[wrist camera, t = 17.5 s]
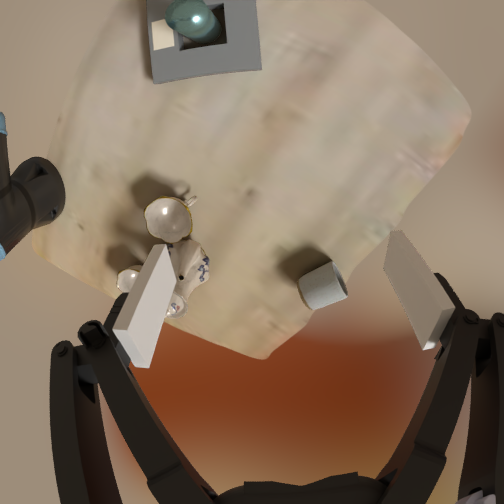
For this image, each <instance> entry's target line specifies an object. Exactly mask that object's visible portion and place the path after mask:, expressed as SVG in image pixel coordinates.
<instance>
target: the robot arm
mask: <svg viewBox="0 0 504 504" xmlns="http://www.w3.org/2000/svg"><path fill="white" fill-rule="evenodd" d="M6 136H7V132H6V125H5V117H4V114H3V113H2V112H0V261H1V260H2V259H4V258H5V256H6V255H7V254H8V253H9V252H10V251H11V250H12V249H13V248H14V247H15V245H17V244H18V242H20V241H21V240H22V239H23V238H24V237H25V236H26V235H27V234H28V233H29V232H30V231H31V230H32V229H35V228H38V227H41V226H44V225H47V224H50V223H51V222H53V221H54V220H55V219H56V218H57V217H58V216H59V215H60V214H61V213H62V211H63V208H64V205H65V188H64V184H63V181H62V178H61V176H60V174H59V172H58V171H57V169H56V168H55V167H54V166H53V164H52V163H50V162H49V161H48V160H46V159H44V158H42V157H32V158H30V159H28V160H26V161H24V162H23V163H21V164H20V165H19V166H18V168H17V169H16V170H15V171H14V173H13V174H12V175H11V176H10V169H9V161H8V152H7V138H6ZM383 269H384V271H385V273H386V274H387V276H388V278H389V280H390V282H391V284H392V286H393V288H394V290H395V292H396V294H397V296H398V298H399V300H400V302H401V304H402V306H403V308H404V310H405V312H406V314H407V316H408V319H409V321H410V323H411V325H412V327H413V329H414V332H415V333H416V336H417V338H418V341H419V343H420V345H421V347H422V350H426V349H430V348H435V346H436V345H437V343H438V341H439V339H440V342H441V344H442V346H441V348H440V350H439V352H438V354H437V355H436V357H435V358H434V359H436V362H435V365H434V368H433V370H432V373H431V376H430V378H429V381H428V383H427V386H426V388H425V390H424V393H423V395H422V397H421V400H420V402H419V404H418V406H417V409H416V411H415V413H414V415H413V417H412V419H411V421H410V424H409V425H408V427H407V429H406V431H405V433H404V435H403V437H402V439H401V441H400V443H399V444H398V446H397V448H396V450H395V452H394V453H393V455H392V457H391V458H390V460H389V462H388V463H387V464H386V466H385V467H384V468H383V469H382V470H381V472H380V473H379V475H378V476H377V477H376V479H373V478H369V477H364V476H358V472H353V473H347V474H342V475H336V476H330V477H327V478H324V479H322V480H319V481H316V482H314V483H310V484H307V485H304V486H298V485H291V484H285V483H279V482H273V481H265V482H244V485H243V486H239V487H235V488H232V489H230V490H228V491H226V492H224V493H222V494H220V495H219V496H218V495H217V494H216V492H215V491H214V490H213V489H212V488H211V487H210V486H209V484H208V483H207V482H206V481H205V480H204V479H203V478H202V477H201V476H200V475H199V473H198V472H197V471H196V470H195V468H194V467H193V466H192V465H191V463H190V462H189V461H188V459H187V458H186V457H185V455H184V454H183V453H182V451H181V450H180V448H179V447H178V446H177V444H176V443H175V441H174V440H173V438H172V437H171V436H170V434H169V433H168V431H167V430H166V428H165V427H164V425H163V424H162V422H161V421H160V419H159V417H158V416H157V414H156V413H155V411H154V409H153V408H152V406H151V405H150V403H149V401H148V400H147V398H146V396H145V395H144V393H143V391H142V389H141V388H140V386H139V384H138V382H137V380H136V379H135V377H134V375H133V373H132V371H131V370H130V368H129V367H128V366H129V363H130V360H131V361H132V363H133V364H134V366H135V367H144V368H149V366H150V363H151V359H152V356H153V353H154V349H155V346H156V342H157V340H158V336H159V333H160V330H161V326H162V324H163V320H164V317H165V314H166V311H167V308H168V305H169V302H170V299H171V296H172V293H173V290H174V287H175V284H176V281H177V280H176V277H175V274H174V270H173V267H172V263H171V260H170V256H169V253H168V249H167V246H166V244H158V245H154V246H153V248H152V250H151V252H150V253H149V255H148V257H147V259H146V261H145V263H144V265H143V267H142V269H141V271H140V272H139V274H138V276H137V278H136V280H135V282H134V284H133V286H132V288H131V290H130V292H123V293H122V294H121V295H120V296H119V297H118V298H117V299H116V301H115V303H114V305H113V308H111V311H110V313H109V315H108V317H107V319H106V321H105V323H104V325H102V324H101V322H99V321H97V320H91V321H89V322H86V323H85V324H83V325H82V326H81V327H80V329H79V331H78V338H79V340H80V341H81V342H82V344H83V345H80V346H76V347H74V346H73V345H72V343H71V342H70V341H67V340H65V341H61V342H59V343H58V344H56V345H55V346H54V348H53V349H52V353H51V366H50V367H51V368H50V427H51V440H52V452H53V460H54V468H55V475H56V481H57V487H58V492H59V497H60V502H61V504H123V503H122V500H121V497H120V494H119V490H118V487H117V483H116V480H115V476H114V472H113V468H112V464H111V460H110V456H109V452H108V447H107V442H106V437H105V432H104V426H103V421H102V414H101V408H100V400H99V394H98V385H97V383H99V385H100V388H101V390H102V393H103V395H104V397H105V399H106V402H107V404H108V406H109V409H110V410H111V413H112V415H113V417H114V419H115V421H116V423H117V425H118V427H119V429H120V431H121V433H122V435H123V437H124V439H125V441H126V443H127V445H128V447H129V448H130V450H131V452H132V454H133V456H134V457H135V459H136V461H137V462H138V464H139V466H140V467H141V469H142V471H143V472H144V474H145V476H146V477H147V485H148V487H149V489H150V491H151V492H152V494H153V495H154V497H155V498H156V500H157V501H158V503H159V504H425V503H426V502H427V500H428V498H429V496H430V495H431V493H432V491H433V489H434V487H435V485H436V483H437V481H438V479H439V477H440V475H441V473H442V471H443V469H444V466H445V464H446V459H447V458H446V456H445V452H446V449H447V446H448V444H449V442H450V439H451V436H452V434H453V431H454V428H455V426H456V423H457V420H458V417H459V414H460V411H461V408H462V405H463V402H464V398H465V395H466V391H467V387H468V384H469V380H470V376H471V405H470V420H469V429H468V437H467V445H466V452H465V458H464V463H463V469H462V474H461V479H460V484H459V491H458V501H457V502H456V503H455V504H504V314H502V313H495V314H494V315H493V316H492V318H491V320H488V319H487V320H486V319H480V318H479V316H478V315H477V314H476V313H475V312H474V311H472V310H469V309H465V307H464V306H463V304H462V303H461V301H460V300H459V298H458V297H457V295H456V293H455V292H453V289H452V288H451V286H450V285H449V283H448V282H447V280H446V279H445V278H444V277H443V276H442V275H440V274H439V273H433V272H432V271H431V269H430V268H429V266H428V265H427V264H426V262H425V261H424V259H423V258H422V257H421V255H420V254H419V253H418V251H417V250H416V248H415V247H414V246H413V244H412V243H411V242H410V240H409V239H408V238H407V237H406V235H405V234H404V233H403V231H402V230H398V231H391V232H390V237H389V243H388V249H387V253H386V258H385V263H384V268H383Z"/></svg>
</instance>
